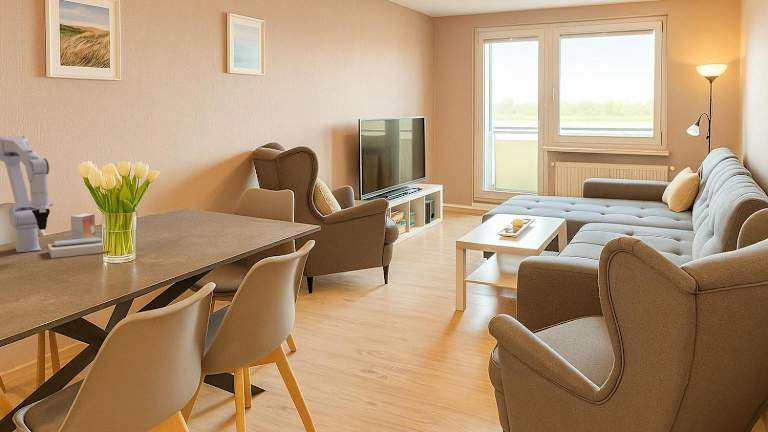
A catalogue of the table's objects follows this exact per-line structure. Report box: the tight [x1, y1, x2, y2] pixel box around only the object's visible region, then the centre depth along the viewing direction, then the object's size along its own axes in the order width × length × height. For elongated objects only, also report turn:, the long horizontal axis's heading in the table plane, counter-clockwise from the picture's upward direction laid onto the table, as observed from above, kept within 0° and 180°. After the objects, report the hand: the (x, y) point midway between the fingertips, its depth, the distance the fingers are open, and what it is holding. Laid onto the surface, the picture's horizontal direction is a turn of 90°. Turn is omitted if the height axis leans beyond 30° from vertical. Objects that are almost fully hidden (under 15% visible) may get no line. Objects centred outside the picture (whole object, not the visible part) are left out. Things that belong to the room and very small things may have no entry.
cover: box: [52, 236, 103, 246], centre depth 243 cm, size 17×6×1 cm, turn 123°
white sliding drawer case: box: [47, 241, 104, 259], centre depth 242 cm, size 20×11×3 cm, turn 123°
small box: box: [70, 213, 97, 240], centre depth 262 cm, size 8×6×10 cm
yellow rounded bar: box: [68, 242, 94, 246], centre depth 244 cm, size 9×3×3 cm, turn 123°
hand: (42, 229), depth 232 cm, fingers closed
